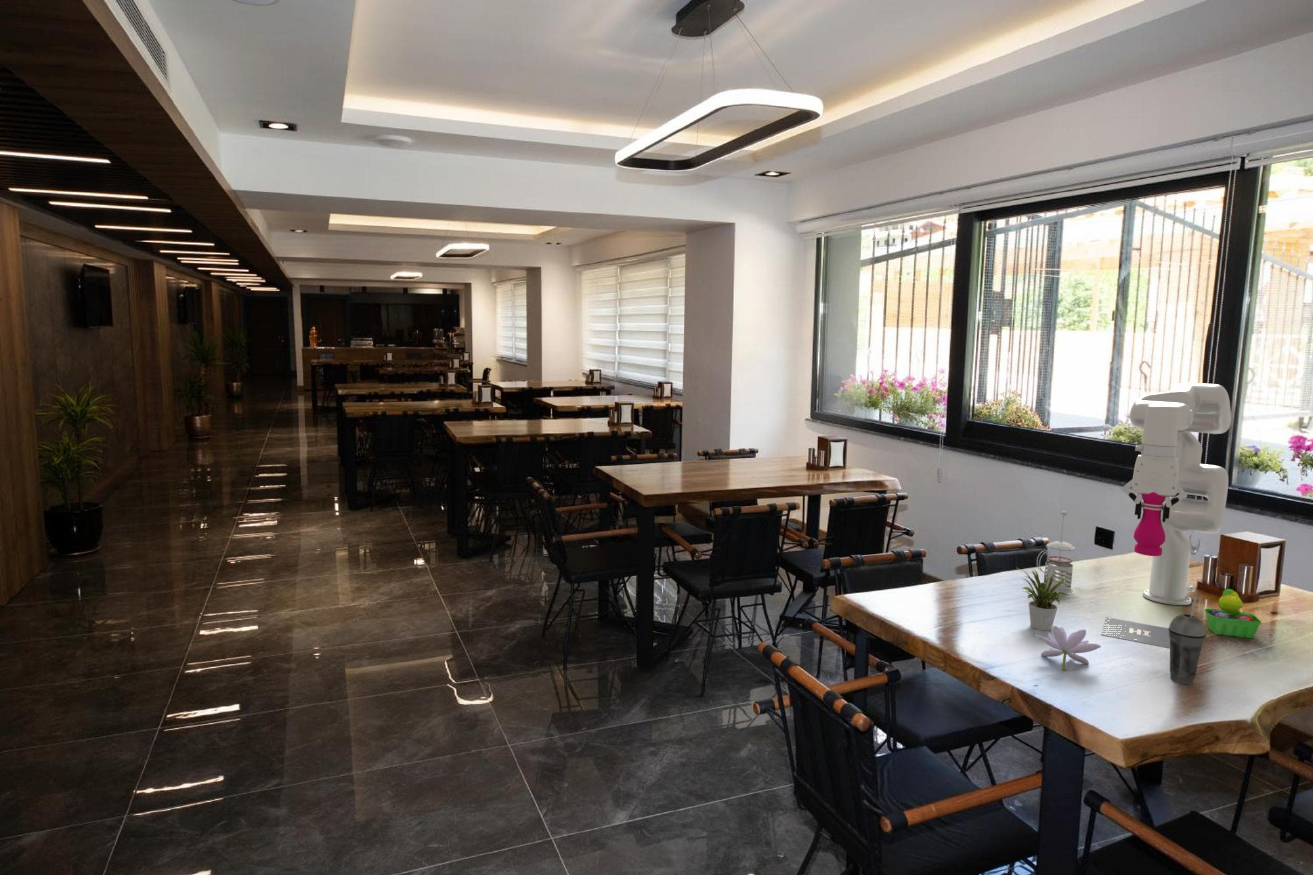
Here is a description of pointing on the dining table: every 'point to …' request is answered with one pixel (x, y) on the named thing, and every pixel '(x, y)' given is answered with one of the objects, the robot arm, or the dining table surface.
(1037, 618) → the house plant
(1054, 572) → the french press
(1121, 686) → the dining table surface
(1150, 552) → the pepper mill
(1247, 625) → the fruit basket
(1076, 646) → the water lily
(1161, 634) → the tile
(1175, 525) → the robot arm
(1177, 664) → the beverage cup
